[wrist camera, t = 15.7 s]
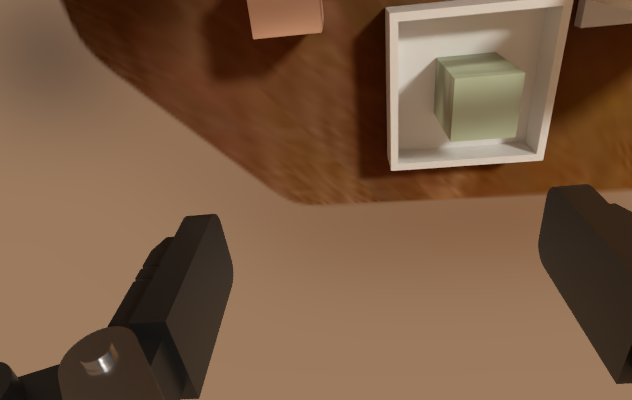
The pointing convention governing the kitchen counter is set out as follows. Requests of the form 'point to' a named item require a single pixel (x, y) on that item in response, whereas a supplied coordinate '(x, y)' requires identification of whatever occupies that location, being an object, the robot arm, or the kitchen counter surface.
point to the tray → (464, 39)
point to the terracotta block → (285, 17)
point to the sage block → (477, 96)
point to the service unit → (603, 13)
